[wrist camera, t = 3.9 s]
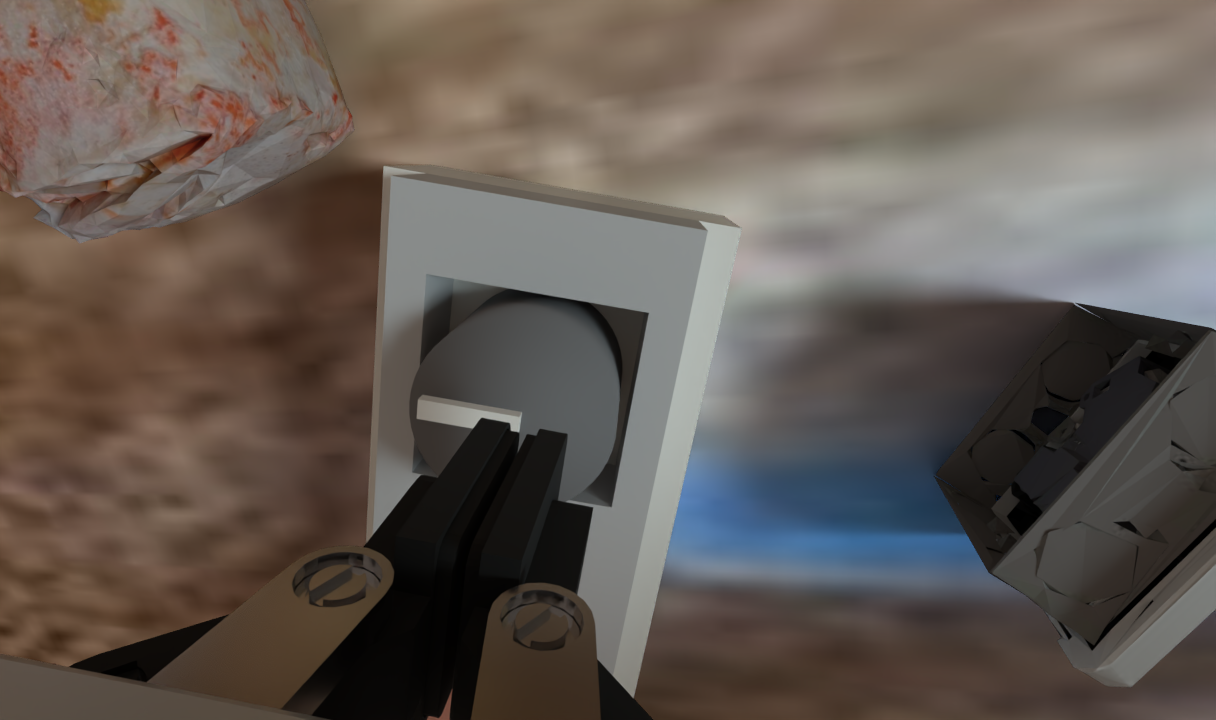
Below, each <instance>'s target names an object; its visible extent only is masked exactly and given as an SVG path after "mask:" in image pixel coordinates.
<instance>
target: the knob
mask: <svg viewBox="0 0 1216 720" xmlns="http://www.w3.org/2000/svg"><path fill="white" fill-rule="evenodd" d="M622 371H623V369H622V356H621V350H620V347H619V343H618V340H617V338H616V336H615V333H614V331H613V329H612V328H611V326H610V325H609V323H608V321H607V320H606V319H605V318H604V316H603V315H602V314H601V313H600V312H599V311H598V310H597V309H596V308H595V307H594V306H593V305H592V304H590V303H589V302H584V301H578V300H573V299H567V298H561V297H555V296H550V295H544V294H538V293H532V292H527V291H521V290H515V289H506V290H504V291H502V292H500V293H498V294H496V295H494V296H492V297H491V298H489V299H488V300H486V301H485V302H484V303H483V304H482V305H481V306H479V307H478V308H477V309H476V310H475V311H474V312H473V313H471V314H470V315H469V316H468V317H467V318H466V319H465V320H464V321H463V322H461V323H460V324H459V325H458V326H457V327H456V328H455V329H454V330H452V331H451V332H450V333H449V334H448V335H447V336H446V337H445V338H443V339H442V340H441V341H440V342H439V343H438V344H437V345H436V346H435V347H434V348H433V349H432V350H431V351H430V352H429V353H428V355H427V356H426V357H425V359H424V360H423V362H422V363H421V365H420V367H419V369H418V371H417V373H416V375H415V378H414V381H413V384H412V388H411V393H410V400H409V416H410V423H411V429H412V432H413V436H414V439H415V442H416V444H417V446H418V449H419V451H420V453H421V454H422V456H423V458H424V459H425V461H426V463H427V464H428V465H429V467H430V468H431V469H432V471H433V472H434V473H435V474H436V475H437V476H438V477H439V475H440V474H441V472H442V471H443V470H444V468H445V467H446V465H447V464H448V463H449V461H450V460H451V458H452V457H453V456H454V454H455V453H456V452H457V450H458V449H459V447H460V446H461V445H462V443H463V442H464V440H465V439H466V438H467V436H468V435H469V434H470V432H471V431H472V429H473V428H474V427H475V425H476V424H477V422H478V421H479V420H480V419H481V418H486V419H492V420H497V421H502V422H508V423H510V425H511V431H515V432H519V434H520V436H519V446H518V451H519V449H520V447H521V445H522V443H523V441H524V439H525V437H526V435H527V434H531V435H537V433H538V431H539V429H545V430H550V431H555V432H561V433H566V434H568V439H567V447H566V453H565V459H564V466H563V472H562V478H561V484H560V491H559V497H558V501H563V502H566V501H568V500H570V499H572V498H574V497H575V496H577V495H578V494H580V493H581V492H582V491H584V490H585V489H586V488H587V487H588V486H589V485H590V484H591V483H593V482H594V480H595V479H596V478H597V477H598V476H599V474H600V473H601V472H602V470H603V468H604V467H605V465H606V463H607V462H608V460H609V457H610V455H611V452H612V450H613V446H614V442H615V439H616V430H617V421H618V411H619V401H620V391H621V381H622Z"/></svg>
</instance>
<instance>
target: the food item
mask: <svg viewBox="0 0 1216 720" xmlns="http://www.w3.org/2000/svg"><path fill="white" fill-rule="evenodd" d="M353 131H354V126H353V122H352V115H351V113H350V111H349V110H348V108H347V106H346V103H345V100H344V97H343V94H342V91H341V88H340V85H339V82H338V80H337V77H336V74H335V72H334V69H333V66H332V64H331V61H330V58H329V55H328V53H327V50H326V47H325V45H324V42H323V39H322V37H321V34H320V32H319V30H318V28H317V26H316V24H315V21H314V19H313V17H312V15H311V13H310V11H309V9H308V7H307V5H306V2H305V0H0V191H4V192H7V193H8V194H10V195H12V196H14V197H15V198H16V197H19V196H26V197H27V198H29V199H31V200H33V201H34V202H35V203H36V204H37V205H38V206H39V207H40V208H41V209H42V210H41V211H40V212H39V213H38V214H37V215H36V216H35V217H34V218H35V219H37V220H39V221H41V222H43V223H45V224H47V225H49V226H51V227H53V228H55V229H57V230H58V231H60V232H62V233H63V234H65V235H67V236H68V237H70V238H72V239H76V240H77V241H78V242H79V243H82V242H85V241H88V240H92V239H98V238H104V237H108V235H113V234H115V233H117V232H119V231H123V230H131V229H135V230H140V229H143V228H151V227H163V226H166V225H170V224H173V223H180V222H186V221H188V220H191V219H194V218H196V217H199V216H202V215H204V214H207V213H210V212H213V211H216V210H219V209H221V208H224V207H227V206H230V205H233V204H236V203H239V202H241V201H243V200H245V199H247V198H249V197H251V196H253V195H255V194H257V193H259V192H261V191H263V190H265V189H267V188H269V187H271V186H273V185H275V184H277V183H279V182H280V181H282V180H283V179H285V178H286V177H288V176H290V175H291V174H293V173H295V172H297V171H298V170H300V169H302V168H304V167H306V166H307V165H309V164H311V163H313V162H315V161H317V160H318V159H320V158H322V157H324V156H326V155H327V154H328V153H329V152H330V151H332V150H333V149H334V148H335V147H336V146H338V145H339V144H340V143H341V142H342V141H343V140H344V139H345V138H347V137H348V136H349V135H350V134H351V133H352V132H353Z"/></svg>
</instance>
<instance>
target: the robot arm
mask: <svg viewBox="0 0 1216 720" xmlns="http://www.w3.org/2000/svg"><path fill="white" fill-rule="evenodd" d="M519 436H520V434H519V432H515V431H511V425H510V423H508V422H502V421H497V420H492V419H486V418H481V419H480V420H479V421H478V422H477V424H476V425H475V427H474V428H473V429H472V431H471V432H470V434H469V435H468V436H467V438H466V439H465V440H464V442H463V443H462V445H461V446H460V447H459V449H458V450H457V452H456V453H455V454H454V456H453V457H452V458H451V460H450V461H449V463H448V464H447V465H446V467H445V468H444V470H443V471H442V472H441V474H440V475H439V477H433V476H428V475H420V476H419V477H418V478H417V479H416V480H415V482H414V483H413V484H412V486H411V487H410V488H409V489H408V491H407V492H406V493H405V495H404V496H403V497H402V498H401V500H400V501H399V502H398V503H397V505H396V506H395V507H394V509H393V510H392V511H391V512H390V514H389V515H388V516H387V517H386V519H385V520H384V521H383V523H382V524H381V525H380V526H379V528H378V529H377V530H376V531H375V533H374V534H373V535H372V537H371V538H370V539H369V540H368V542H367V543H366V544H365V545H364V547H359V546H334V547H329V548H323V549H320V550H317V551H314V552H312V553H309V554H306V555H305V556H303V557H301V558H300V559H298V560H297V561H295V562H293V563H292V564H291V565H290V566H288V567H287V568H286V569H285V570H283V571H282V572H281V573H280V574H279V575H277V576H276V577H275V578H274V579H272V580H271V581H270V582H269V583H267V584H266V585H265V586H264V587H263V588H261V589H260V590H259V591H258V592H256V593H255V594H254V595H253V596H252V597H250V598H249V599H248V600H247V601H245V602H244V603H243V604H242V605H241V606H239V607H238V608H237V609H236V610H234V611H233V612H232V613H231V614H229V615H226V616H222V617H219V618H216V619H212V620H209V621H206V622H203V623H199V624H196V625H193V626H190V627H186V628H183V629H180V630H177V631H173V632H170V633H167V634H163V635H160V636H157V637H154V638H150V639H147V640H144V641H141V642H137V643H134V644H131V645H128V646H124V647H121V648H118V649H114V650H111V651H108V652H105V653H101V654H98V655H96V656H93V657H90V658H88V659H85V660H83V661H80V662H78V663H75V664H73V665H71V666H70V667H66V666H61V665H56V664H51V663H46V662H41V661H36V660H31V659H26V658H21V657H15V656H10V655H5V654H0V720H427V718H428V716H431V717H436V718H440V716H441V715H442V713H443V710H444V708H445V705H446V703H447V700H448V698H449V695H450V693H451V691H452V697H451V707H450V718H449V719H450V720H653V719H652V718H651V717H650V716H649V715H648V714H647V712H646V711H645V710H644V709H643V708H642V707H641V706H640V705H639V704H638V703H637V702H636V700H635V699H634V698H633V697H632V696H631V695H630V694H629V693H628V692H627V691H626V690H625V689H624V687H623V686H622V685H621V684H620V683H619V682H618V681H617V680H616V679H615V678H614V677H613V675H612V674H611V673H610V672H609V671H608V670H607V669H606V668H605V667H604V666H603V665H602V663H601V662H600V661H599V660H598V659H597V646H596V629H595V620H594V617H593V613H592V610H591V609H590V608H589V606H588V605H587V603H586V602H585V601H584V600H583V599H582V598H580V597H579V596H578V595H577V594H578V589H579V584H580V579H581V573H582V568H583V563H584V557H585V552H586V547H587V541H588V536H589V530H590V524H591V519H592V513H593V507H589V506H584V505H579V504H574V503H568V502H563V501H558V497H559V491H560V484H561V478H562V472H563V466H564V459H565V453H566V447H567V439H568V434H566V433H561V432H555V431H550V430H545V429H539V431H538V433H537V435H531V434H527V435H526V437H525V439H524V441H523V443H522V445H521V447H520V449H519V451H518V446H519Z"/></svg>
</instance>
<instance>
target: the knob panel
mask: <svg viewBox="0 0 1216 720" xmlns="http://www.w3.org/2000/svg"><path fill="white" fill-rule="evenodd" d="M741 230H742V228H741V227H739V226H738V225H736V224H735V223H733V222H732V221H731V220H729V219H728V218H726V217H725V216H722V215H716V214H710V213H705V212H699V211H693V210H687V209H682V208H676V207H670V206H664V205H659V204H653V203H647V202H641V201H636V200H630V199H624V198H618V197H613V196H607V195H601V194H596V193H590V192H584V191H578V190H573V189H567V188H561V187H555V186H550V185H544V184H538V183H532V182H527V181H521V180H515V179H509V178H504V177H498V176H492V175H486V174H481V173H475V172H469V171H463V170H458V169H452V168H446V167H441V166H435V165H403V166H384V167H383V189H382V210H381V231H380V253H379V274H378V295H377V317H376V338H375V359H374V380H373V402H372V423H371V444H370V466H369V487H368V508H367V530H366V543H367V542H368V540H369V539H370V538H371V537H372V535H373V534H374V533H375V531H376V530H377V529H378V528H379V526H380V525H381V524H382V523H383V521H384V520H385V519H386V517H387V516H388V515H389V514H390V512H391V511H392V510H393V509H394V507H395V506H396V505H397V503H398V502H399V501H400V500H401V498H402V497H403V496H404V495H405V493H406V492H407V491H408V489H409V488H410V487H411V486H412V484H413V483H414V482H415V480H416V479H417V478H418V477H419V476H420V475H428V476H433V477H438V476H437V475H436V474H435V473H434V472H433V471H432V469H431V468H430V467H429V465H428V464H427V463H426V461H425V459H424V458H423V456H422V454H421V453H420V451H419V449H418V446H417V444H416V442H415V439H414V436H413V432H412V429H411V423H410V416H409V400H410V393H411V388H412V384H413V381H414V378H415V375H416V373H417V371H418V369H419V367H420V365H421V363H422V362H423V360H424V359H425V357H426V356H427V355H428V353H429V352H430V351H431V350H432V349H433V348H434V347H435V346H436V345H437V344H438V343H439V342H440V341H441V340H442V339H443V338H445V337H446V336H447V335H448V334H449V333H450V332H451V331H452V330H454V329H455V328H456V327H457V326H458V325H459V324H460V323H461V322H463V321H464V320H465V319H466V318H467V317H468V316H469V315H470V314H471V313H473V312H474V311H475V310H476V309H477V308H478V307H479V306H481V305H482V304H483V303H484V302H485V301H486V300H488V299H489V298H491V297H492V296H494V295H496V294H498V293H500V292H502V291H504V290H506V289H515V290H521V291H527V292H532V293H538V294H544V295H550V296H555V297H561V298H567V299H573V300H578V301H584V302H589V303H590V304H592V305H593V306H594V307H595V308H596V309H597V310H598V311H599V312H600V313H601V314H602V315H603V316H604V318H605V319H606V320H607V321H608V323H609V325H610V326H611V328H612V329H613V331H614V333H615V336H616V338H617V340H618V343H619V347H620V350H621V356H622V369H623V371H622V381H621V391H620V401H619V411H618V421H617V430H616V439H615V442H614V446H613V450H612V452H611V455H610V457H609V460H608V462H607V463H606V465H605V467H604V468H603V470H602V472H601V473H600V474H599V476H598V477H597V478H596V479H595V480H594V482H593V483H591V484H590V485H589V486H588V487H587V488H586V489H585V490H584V491H582V492H581V493H580V494H578V495H577V496H575V497H574V498H572V499H570V500H568V501H566V502H568V503H574V504H579V505H584V506H589V507H593V513H592V519H591V524H590V530H589V536H588V541H587V547H586V552H585V557H584V563H583V568H582V573H581V579H580V584H579V589H578V594H577V595H578V596H579V597H580V598H582V599H583V600H584V601H585V602H586V603H587V605H588V606H589V608H590V609H591V610H592V613H593V617H594V620H595V629H596V646H597V659H598V660H599V661H600V662H601V663H602V665H603V666H604V667H605V668H606V669H607V670H608V671H609V672H610V673H611V674H612V675H613V677H614V678H615V679H616V680H617V681H618V682H619V683H620V684H621V685H622V686H623V687H624V689H625V690H626V691H627V692H628V693H629V694H630V695H631V696H632V697H633V698H634V694H635V690H636V686H637V681H638V677H639V673H640V668H641V664H642V660H643V655H644V651H645V647H646V642H647V638H648V634H649V629H650V625H651V621H652V616H653V612H654V608H655V603H656V599H657V594H658V590H659V586H660V581H661V577H662V573H663V568H664V564H665V560H666V555H667V551H668V547H669V542H670V538H671V534H672V529H673V525H674V521H675V516H676V512H677V508H678V503H679V499H680V495H681V490H682V486H683V482H684V477H685V473H686V469H687V464H688V460H689V456H690V451H691V447H692V443H693V438H694V434H695V430H696V425H697V421H698V417H699V412H700V408H701V404H702V399H703V395H704V391H705V386H706V382H707V378H708V373H709V369H710V365H711V360H712V356H713V352H714V347H715V343H716V339H717V334H718V330H719V326H720V321H721V317H722V312H723V308H724V304H725V299H726V295H727V291H728V286H729V282H730V278H731V273H732V269H733V265H734V260H735V256H736V252H737V247H738V243H739V239H740V234H741Z"/></svg>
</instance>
